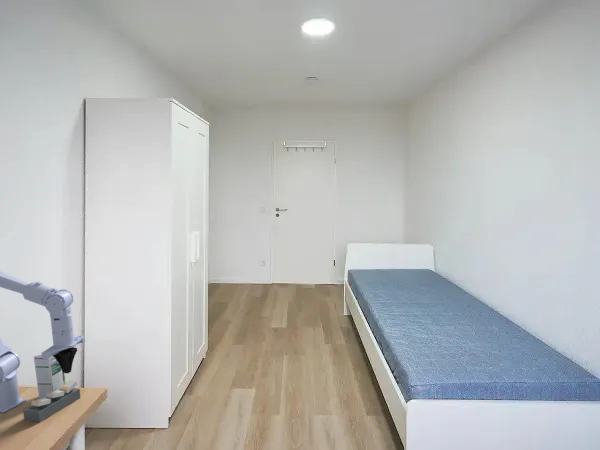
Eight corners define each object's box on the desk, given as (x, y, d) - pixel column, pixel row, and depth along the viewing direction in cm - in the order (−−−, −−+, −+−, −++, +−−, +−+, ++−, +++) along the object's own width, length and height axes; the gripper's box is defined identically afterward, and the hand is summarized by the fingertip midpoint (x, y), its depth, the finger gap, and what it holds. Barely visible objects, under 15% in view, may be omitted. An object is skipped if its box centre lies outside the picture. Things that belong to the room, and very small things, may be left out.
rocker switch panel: (24, 419, 131) (22, 407, 131) (65, 395, 145) (64, 384, 145) (39, 422, 129) (38, 410, 129) (80, 397, 143) (79, 386, 143)
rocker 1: (31, 405, 130) (31, 400, 130) (43, 402, 134) (43, 397, 134) (38, 406, 129) (39, 401, 129) (50, 403, 133) (50, 398, 133)
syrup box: (54, 399, 143) (49, 355, 141) (38, 398, 144) (33, 355, 143) (66, 391, 148) (62, 348, 147) (51, 390, 150) (46, 348, 148)
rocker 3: (60, 392, 140) (59, 388, 139) (70, 383, 143) (69, 380, 143) (67, 393, 139) (66, 389, 138) (77, 384, 142) (76, 381, 142)
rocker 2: (45, 397, 135) (46, 392, 135) (56, 394, 138) (57, 389, 139) (53, 398, 134) (53, 393, 134) (64, 395, 138) (64, 390, 138)
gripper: (52, 339, 131) (57, 383, 132) (90, 323, 145) (94, 364, 146) (34, 337, 133) (39, 381, 135) (73, 322, 147) (77, 362, 148)
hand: (67, 372), depth 140 cm, fingers closed
